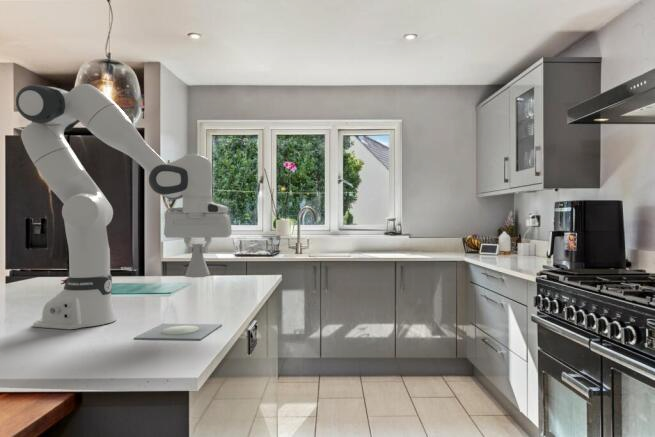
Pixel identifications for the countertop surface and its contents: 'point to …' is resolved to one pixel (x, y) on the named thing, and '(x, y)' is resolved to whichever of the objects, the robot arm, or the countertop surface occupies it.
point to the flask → (197, 263)
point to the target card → (179, 332)
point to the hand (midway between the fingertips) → (197, 252)
